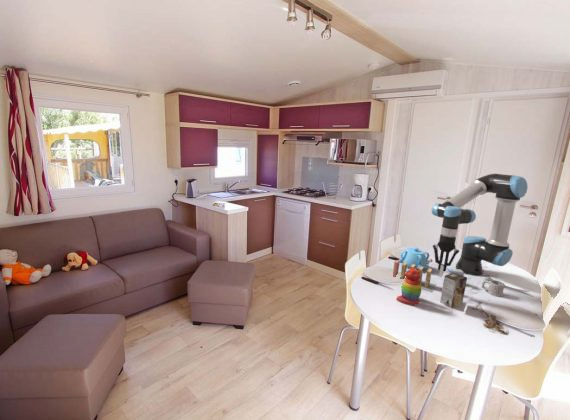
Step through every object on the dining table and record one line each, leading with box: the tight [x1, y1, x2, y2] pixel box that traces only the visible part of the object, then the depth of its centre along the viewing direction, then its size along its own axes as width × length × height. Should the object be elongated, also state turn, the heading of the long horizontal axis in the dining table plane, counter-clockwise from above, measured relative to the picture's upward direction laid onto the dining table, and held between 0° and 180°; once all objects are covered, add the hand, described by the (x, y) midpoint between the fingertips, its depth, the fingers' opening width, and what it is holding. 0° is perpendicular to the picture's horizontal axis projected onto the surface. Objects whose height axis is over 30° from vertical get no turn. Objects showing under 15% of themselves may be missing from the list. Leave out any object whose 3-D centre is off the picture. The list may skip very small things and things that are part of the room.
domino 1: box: [392, 259, 401, 277], centre depth 180 cm, size 2×5×10 cm, turn 143°
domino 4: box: [424, 267, 433, 288], centre depth 170 cm, size 2×5×10 cm, turn 143°
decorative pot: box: [399, 246, 430, 270], centre depth 198 cm, size 16×16×14 cm
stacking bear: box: [395, 268, 422, 306], centre depth 154 cm, size 11×10×18 cm
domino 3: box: [418, 266, 424, 283], centre depth 172 cm, size 2×5×10 cm, turn 143°
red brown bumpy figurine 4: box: [400, 262, 408, 279], centre depth 177 cm, size 2×5×10 cm, turn 143°
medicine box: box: [445, 268, 465, 276], centre depth 177 cm, size 8×4×9 cm, turn 84°
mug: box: [481, 279, 506, 298], centre depth 169 cm, size 10×7×7 cm
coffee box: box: [439, 273, 468, 309], centre depth 152 cm, size 9×6×16 cm
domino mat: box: [421, 280, 437, 293], centre depth 176 cm, size 26×12×1 cm, turn 53°
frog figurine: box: [482, 314, 510, 336], centre depth 137 cm, size 12×12×4 cm
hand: (440, 275), depth 165 cm, fingers closed
